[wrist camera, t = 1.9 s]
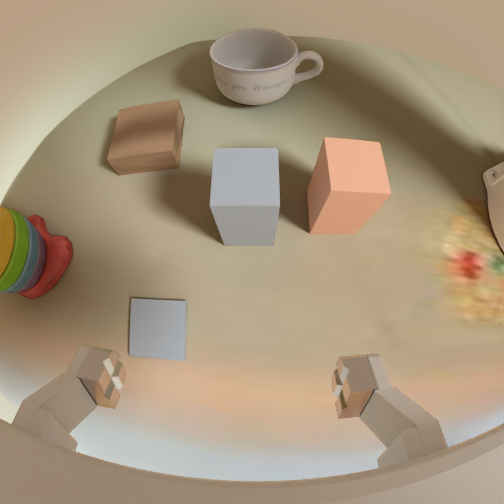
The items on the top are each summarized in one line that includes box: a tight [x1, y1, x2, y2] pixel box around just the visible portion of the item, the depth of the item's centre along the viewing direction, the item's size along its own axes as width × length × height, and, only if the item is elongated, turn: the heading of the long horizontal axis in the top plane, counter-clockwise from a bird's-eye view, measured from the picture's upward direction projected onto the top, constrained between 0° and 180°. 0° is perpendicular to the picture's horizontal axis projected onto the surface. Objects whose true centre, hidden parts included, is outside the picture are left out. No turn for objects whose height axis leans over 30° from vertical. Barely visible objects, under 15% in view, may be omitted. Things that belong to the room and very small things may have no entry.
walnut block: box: [107, 100, 185, 176], centre depth 33 cm, size 8×8×4 cm
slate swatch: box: [129, 298, 187, 361], centre depth 28 cm, size 6×6×1 cm
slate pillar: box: [210, 148, 280, 246], centre depth 26 cm, size 5×5×10 cm
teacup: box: [209, 29, 323, 105], centre depth 32 cm, size 14×11×8 cm
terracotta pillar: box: [307, 137, 391, 235], centre depth 26 cm, size 5×5×10 cm
